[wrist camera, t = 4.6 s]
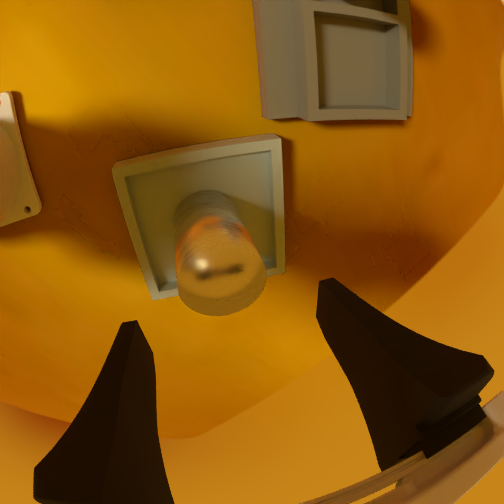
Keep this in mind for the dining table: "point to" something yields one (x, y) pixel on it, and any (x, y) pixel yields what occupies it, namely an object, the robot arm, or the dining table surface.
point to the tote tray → (196, 179)
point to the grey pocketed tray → (334, 59)
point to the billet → (215, 255)
